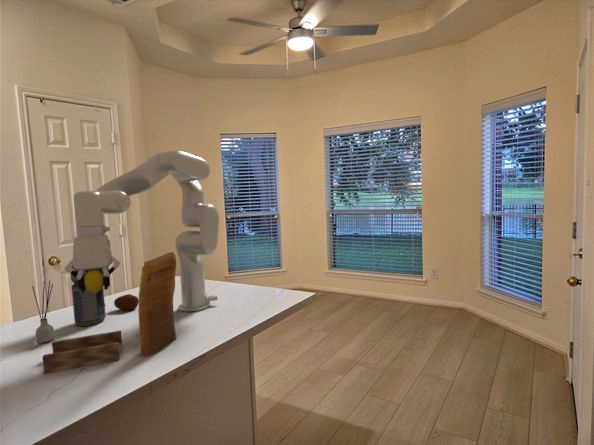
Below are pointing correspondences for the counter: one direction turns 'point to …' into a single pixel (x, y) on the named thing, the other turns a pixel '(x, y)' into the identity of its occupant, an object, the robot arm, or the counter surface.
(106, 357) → the u rest
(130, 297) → the potato
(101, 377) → the counter surface
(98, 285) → the lemon
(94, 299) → the beverage bottle
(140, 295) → the pancake mix bag
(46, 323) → the reed diffuser
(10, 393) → the counter surface
